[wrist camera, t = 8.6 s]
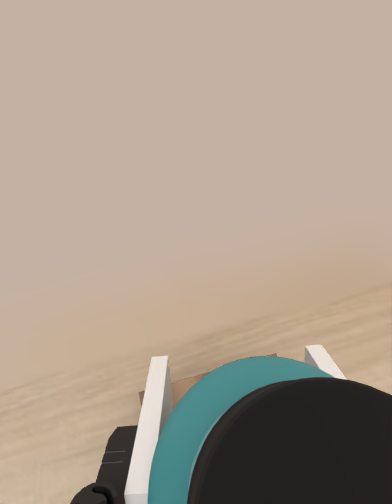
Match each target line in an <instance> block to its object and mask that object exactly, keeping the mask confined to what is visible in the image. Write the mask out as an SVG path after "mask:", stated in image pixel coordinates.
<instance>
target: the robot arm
mask: <svg viewBox="0 0 392 504" xmlns="http://www.w3.org/2000/svg"><path fill="white" fill-rule="evenodd" d="M305 363H307V364H309V365H311V366H314V367H316V368H319V369H321V370H323V371H324V372H326V373H328V374H330V375H332V376H333V377H335V378H340V379H346V378H345V377H344V375H343V374H342V372H341V371H340V370H339V368H338V367H337V366H336V364H335V363H334V361H333V360H332V359H331V357H330V356H329V355H328V353H327V352H326V350H325V349H324V348H323V346H322V345H310V346H305ZM346 380H347V379H346ZM172 411H173V399H172V389H171V380H170V371H169V361H168V356H158V357H152V359H151V364H150V369H149V374H148V379H147V384H146V389H145V394H144V399H143V404H142V408H141V413H140V418H139V423H138V425H137V426H123V427H117V428H116V430H115V431H114V432H113V434H112V435H111V436H110V438H109V440H108V443H107V446H106V450H105V454H104V456H103V460H102V465H101V466H100V470H99V473H98V476H97V480H96V483H92V484H90V485H88V486H86V487H84V488H83V489H82V490H81V491H80V492H78V493H77V494H76V495H75V497H74V498H73V500H72V501H71V503H70V504H148V485H149V476H150V470H151V464H152V459H153V455H154V452H155V448H156V444H157V442H158V439H159V437H160V434H161V432H162V429H163V427H164V425H165V423H166V421H167V419H168V418H169V416H170V414H171V412H172Z"/></svg>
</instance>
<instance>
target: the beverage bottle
mask: <svg viewBox="0 0 392 504" xmlns="http://www.w3.org/2000/svg"><path fill="white" fill-rule="evenodd" d="M148 504H392V395H390V394H388V393H385V392H383V391H380V390H378V389H376V388H373V387H371V386H368V385H365V384H362V383H358V382H355V381H351V380H346V379H340V378H335V377H333V376H332V375H330V374H328V373H326V372H324V371H323V370H321V369H319V368H316V367H314V366H311V365H309V364H307V363H303V362H300V361H296V360H293V359H288V358H282V357H271V356H260V357H250V358H245V359H240V360H236V361H234V362H231V363H228V364H225V365H223V366H221V367H219V368H217V369H215V370H213V371H212V372H210V373H209V374H207V375H206V376H204V377H203V378H201V379H200V380H199V381H198V382H197V383H196V384H195V385H193V386H192V387H191V388H190V389H189V390H188V391H187V392H186V394H185V395H184V396H183V397H182V398H181V399H180V401H179V402H178V404H177V405H176V406H175V408H174V409H173V411H172V412H171V414H170V416H169V418H168V419H167V421H166V423H165V425H164V427H163V429H162V432H161V434H160V437H159V439H158V442H157V444H156V448H155V452H154V455H153V459H152V464H151V470H150V476H149V485H148Z"/></svg>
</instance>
